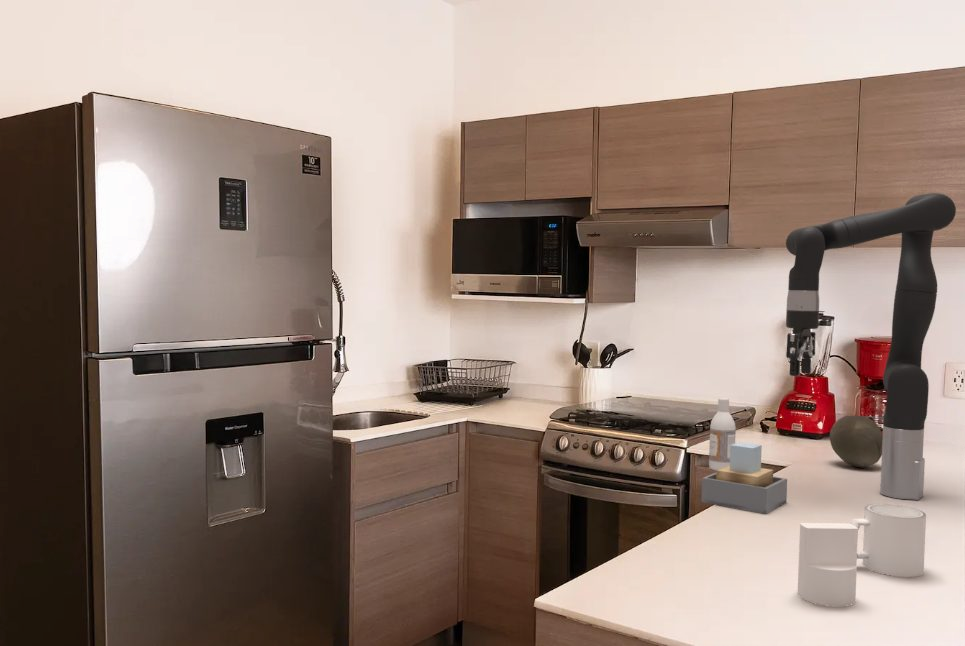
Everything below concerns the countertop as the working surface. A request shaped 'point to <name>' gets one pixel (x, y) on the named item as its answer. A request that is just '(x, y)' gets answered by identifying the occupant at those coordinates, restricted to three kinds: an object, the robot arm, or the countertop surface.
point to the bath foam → (721, 436)
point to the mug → (893, 540)
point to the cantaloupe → (857, 440)
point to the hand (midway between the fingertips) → (800, 374)
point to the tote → (744, 494)
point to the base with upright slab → (828, 563)
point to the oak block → (746, 477)
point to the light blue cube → (745, 457)
